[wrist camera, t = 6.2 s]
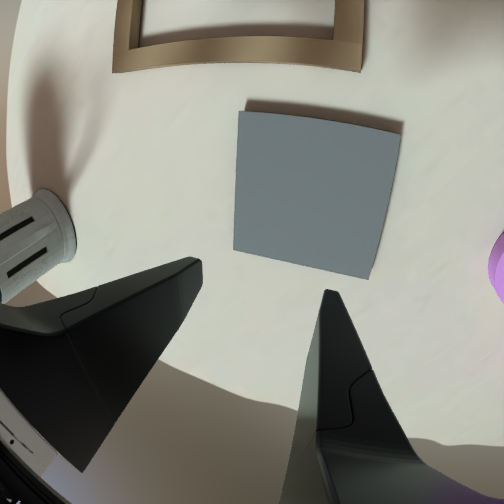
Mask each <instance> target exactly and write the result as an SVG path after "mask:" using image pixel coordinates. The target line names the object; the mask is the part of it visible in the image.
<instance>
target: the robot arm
mask: <svg viewBox="0 0 504 504" xmlns="http://www.w3.org/2000/svg"><path fill="white" fill-rule="evenodd" d="M202 283H203V273H202V261H201V260H200V259H198V258H194V257H186V258H183V259H180V260H177V261H173V262H170V263H167V264H164V265H161V266H158V267H155V268H152V269H148V270H145V271H142V272H139V273H136V274H133V275H130V276H127V277H124V278H121V279H118V280H115V281H112V282H109V283H105V284H102V285H99V286H98V287H93V288H90V289H87V290H84V291H81V292H78V293H74V294H71V295H67V296H64V297H60V298H56V299H53V300H49V301H45V302H41V303H37V304H33V305H30V306H25V307H13V306H8V305H5V304H2V303H0V504H16V503H17V502H18V501H21V502H20V504H71V503H70V502H69V501H68V500H66V499H65V498H64V497H63V496H61V495H60V494H59V493H58V492H57V491H55V490H54V489H53V488H52V487H51V486H49V485H48V484H47V483H46V482H45V481H44V480H43V479H42V478H41V477H40V476H41V475H42V474H43V472H44V471H45V470H46V469H47V467H48V466H49V465H50V463H51V462H52V461H53V460H54V459H55V457H56V456H57V455H59V456H60V457H61V458H63V459H64V460H65V461H67V462H68V463H69V464H70V465H71V466H73V467H74V468H75V469H77V470H78V471H79V472H81V473H82V472H83V471H84V470H85V469H86V467H87V466H88V464H89V463H90V461H91V459H92V458H93V456H94V455H95V453H96V452H97V450H98V449H99V447H100V446H101V444H102V443H103V441H104V439H105V438H106V436H107V435H108V433H109V432H110V430H111V429H112V427H113V426H114V424H115V422H116V421H117V419H118V418H119V416H120V415H121V413H122V412H123V410H124V409H125V407H126V406H127V404H128V403H129V401H130V400H131V398H132V397H133V395H134V394H135V392H136V391H137V389H138V388H139V386H140V385H141V383H142V382H143V380H144V379H145V377H146V376H147V375H148V373H149V372H150V370H151V369H152V367H153V366H154V364H155V363H156V361H157V360H158V358H159V357H160V355H161V354H162V352H163V351H164V349H165V348H166V347H167V345H168V344H169V342H170V341H171V339H172V338H173V336H174V335H175V333H176V332H177V330H178V329H179V327H180V326H181V324H182V323H183V321H184V319H185V317H186V316H187V314H188V312H189V310H190V308H191V306H192V304H193V302H194V300H195V298H196V297H197V295H198V293H199V291H200V289H201V287H202ZM279 504H504V499H497V498H492V497H488V496H486V495H483V494H480V493H479V492H477V491H475V490H473V489H471V488H469V487H467V486H465V485H463V484H461V483H459V482H457V481H455V480H454V479H452V478H450V477H448V476H446V475H444V474H443V473H441V472H439V471H437V470H436V469H434V468H432V467H430V466H429V465H427V464H426V463H425V462H423V461H422V460H421V458H420V457H419V456H418V455H417V454H416V452H415V451H414V449H413V447H412V446H411V444H410V442H409V440H408V438H407V437H406V435H405V433H404V431H403V429H402V427H401V426H400V424H399V422H398V420H397V418H396V416H395V415H394V413H393V411H392V409H391V407H390V405H389V403H388V402H387V400H386V398H385V396H384V394H383V392H382V389H381V387H380V385H379V383H378V380H377V378H376V376H375V373H374V371H373V370H372V366H371V364H370V361H369V359H368V357H367V354H366V352H365V350H364V347H363V345H362V343H361V340H360V338H359V336H358V334H357V331H356V329H355V327H354V325H353V322H352V320H351V318H350V316H349V313H348V311H347V309H346V307H345V305H344V303H343V300H342V298H341V296H340V294H339V292H337V291H333V290H329V289H326V290H325V291H324V294H323V298H322V302H321V306H320V309H319V313H318V317H317V321H316V325H315V329H314V333H313V337H312V341H311V345H310V348H309V352H308V356H307V360H306V366H305V372H304V379H303V385H302V391H301V397H300V403H299V409H298V415H297V421H296V426H295V431H294V437H293V442H292V447H291V452H290V457H289V461H288V466H287V471H286V475H285V480H284V484H283V489H282V493H281V497H280V501H279Z"/></svg>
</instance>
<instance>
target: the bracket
mask: <svg viewBox="0 0 504 504" xmlns="http://www.w3.org/2000/svg"><path fill="white" fill-rule="evenodd" d="M488 274H489V278H490V281H491V284H492V285H493V287H494V289H495V291H496V293H497V295H498V297H499V298H500V299H501V301H502V302H503V303H504V233H503V234H502V235H501V236H500V237H499V239H498V240H497V242H496V243H495V245H494V247H493V249H492V252H491V255H490V258H489V264H488Z"/></svg>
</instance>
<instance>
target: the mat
mask: <svg viewBox="0 0 504 504" xmlns="http://www.w3.org/2000/svg"><path fill="white" fill-rule="evenodd" d="M400 138H401V135H400V134H398V133H393V132H389V131H385V130H380V129H375V128H370V127H365V126H360V125H355V124H350V123H344V122H338V121H332V120H325V119H319V118H311V117H304V116H296V115H287V114H277V113H266V112H254V111H239V117H238V138H237V160H236V184H235V211H234V241H233V250H236V251H240V252H245V253H249V254H254V255H258V256H263V257H267V258H272V259H276V260H281V261H285V262H290V263H294V264H299V265H303V266H308V267H312V268H317V269H321V270H326V271H330V272H335V273H339V274H344V275H348V276H353V277H357V278H362V279H366V280H368V279H369V276H370V272H371V269H372V265H373V262H374V258H375V255H376V251H377V247H378V244H379V240H380V236H381V232H382V228H383V224H384V220H385V215H386V211H387V207H388V202H389V198H390V193H391V188H392V183H393V178H394V173H395V168H396V162H397V156H398V150H399V144H400Z"/></svg>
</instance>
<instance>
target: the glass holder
mask: <svg viewBox="0 0 504 504" xmlns="http://www.w3.org/2000/svg"><path fill="white" fill-rule="evenodd" d="M75 251H76V239H75V233H74V229H73V226H72V223H71V220H70V217H69V215H68V213H67V211H66V209H65V207H64V206H63V204H62V203H61V201H60V200H59V199H58V198H57V197H56V195H54V194H53V193H52V192H51V191H49V190H46V189H40V190H38V191H37V192H36V193H35V194H34V195H33V197H31V198H30V199H29V200H27V201H25V202H22V203H20V204H18V205H17V206H15V207H13V208H11V209H9V210H7V211H5V212H3V213H2V214H0V303H2V304H5V303H6V302H7V301H9V300H10V299H11V298H12V297H14V296H15V295H16V294H18V293H19V292H20V291H21V290H23V289H24V288H26V287H27V286H28V285H29V284H31V283H32V282H34V281H35V280H36V279H38V278H39V277H41V276H42V275H43V274H45V273H46V272H47V271H49V270H50V269H52V268H53V267H55V266H56V265H57V264H60V263H64V262H68V261H70V260H72V258H73V257H74V255H75Z"/></svg>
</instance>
